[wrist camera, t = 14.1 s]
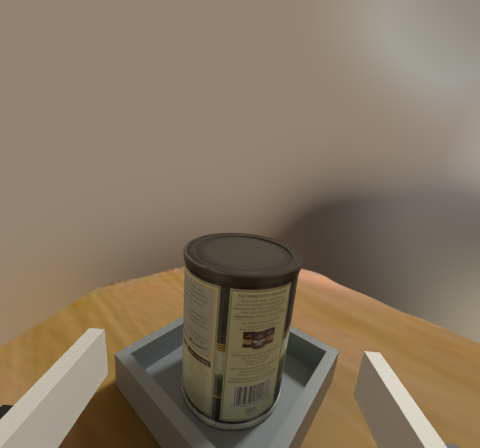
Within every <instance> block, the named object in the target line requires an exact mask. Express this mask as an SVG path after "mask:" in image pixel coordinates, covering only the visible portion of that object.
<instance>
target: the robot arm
mask: <svg viewBox="0 0 480 448" xmlns="http://www.w3.org/2000/svg"><path fill="white" fill-rule="evenodd" d="M107 374H108V366H107V354H106V342H105V330H104V329H95V328H89V329H88V330H87V331H86V332H85V333H84V334H83V335H82V336H81V337H80V338H79V339H78V340H77V341H76V342H75V343H74V345H73V346H72V347H71V348H70V349H69V350H68V351H67V352H66V353H65V354H64V355H63V356H62V357H61V358H60V359H59V360H58V361H57V362H56V363H55V364H54V365H53V366H52V367H51V368H50V369H49V370H48V371H47V372H46V373H45V374H44V375H43V376H42V377H41V378H40V379H39V380H38V381H37V382H36V383H35V384H34V385H33V387H32V388H31V389H30V390H29V391H28V392H27V393H26V394H25V395H24V396H23V397H22V398H21V399H20V400H19V401H18V402H17V403H16V404H15V405H14V406H11V405H2V406H1V407H0V448H58V447H59V446H60V444H61V443H62V441H63V440H64V438H65V437H66V435H67V434H68V432H69V431H70V429H71V428H72V426H73V425H74V423H75V422H76V420H77V419H78V417H79V416H80V414H81V413H82V411H83V410H84V408H85V407H86V405H87V404H88V402H89V401H90V400H91V398H92V397H93V395H94V394H95V392H96V391H97V389H98V388H99V386H100V385H101V383H102V382H103V380H104V379H105V377H106V376H107ZM354 396H355V399H356V401H357V403H358V405H359V407H360V409H361V411H362V414H363V416H364V418H365V420H366V422H367V424H368V427H369V429H370V431H371V433H372V435H373V437H374V439H375V442H376V444H377V446H378V448H459V447H458V446H457V445H456V444H445V443H443V441H442V440H441V438H440V437H439V436H438V434H437V433H436V431H435V430H434V428H433V427H432V426H431V424H430V423H429V421H428V420H427V419H426V417H425V416H424V414H423V413H422V412H421V410H420V409H419V407H418V406H417V404H416V403H415V402H414V400H413V399H412V397H411V396H410V395H409V393H408V392H407V390H406V389H405V388H404V386H403V385H402V383H401V382H400V380H399V379H398V378H397V376H396V375H395V373H394V372H393V371H392V369H391V368H390V366H389V365H388V364H387V362H386V361H385V359H384V358H383V356H382V355H381V354H380V353H378V352H366V351H364V355H363V359H362V363H361V367H360V371H359V375H358V379H357V383H356V388H355V392H354Z"/></svg>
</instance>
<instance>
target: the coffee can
mask: <svg viewBox="0 0 480 448" xmlns="http://www.w3.org/2000/svg"><path fill="white" fill-rule="evenodd" d="M184 261H185V280H184V320H183V358H182V376H181V389H182V394H183V397H184V400H185V402H186V404H187V405H188V407H189V409H190V410H191V412H192V413H194V414H195V415H196V416H197V417H198V418H199V419H200V420H202V421H203V422H205V423H206V424H208V425H210V426H213V427H215V428H219V429H223V430H230V431H232V430H241V429H246V428H250V427H252V426H255V425H257V424H259V423H260V422H262V421H263V420H265V419H266V418H267V417H268V416H269V415H270V414H271V413H272V412H273V410H274V409H275V407H276V405H277V403H278V401H279V397H280V393H281V381H282V375H283V369H284V363H285V356H286V350H287V343H288V337H289V331H290V324H291V318H292V312H293V305H294V299H295V293H296V286H297V280H298V274H299V272H300V270H301V266H302V257H301V255H300V254H299V253H298V252H297V251H296V250H295V249H294V248H292V247H291V246H289V245H287V244H285V243H283V242H280V241H278V240H274V239H271V238H267V237H263V236H258V235H251V234H243V233H242V234H241V233H220V234H211V235H206V236H202V237H198V238H196V239H193V240H191V241H190V242H188V243H187V244H186V246H185V247H184Z"/></svg>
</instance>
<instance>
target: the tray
mask: <svg viewBox="0 0 480 448" xmlns="http://www.w3.org/2000/svg"><path fill="white" fill-rule="evenodd" d="M183 320H184V316H183V317H181V318H179V319H178V320H176V321H174V322H172V323H170V324H168V325H167V326H165V327H163V328H161V329H159V330H157V331H155V332H154V333H152V334H150V335H148V336H146V337H144V338H143V339H141V340H139V341H137V342H135V343H133V344H132V345H130V346H128V347H126V348H124V349H122V350H121V351H119V352H117V353H115V370H116V386H117V387H118V389H119V390H120V392H121V393H122V394H123V396H124V397H125V398H126V400H127V401H128V403H129V404H130V405H131V407H132V408H133V409H134V411H135V412H136V414H137V415H138V416H139V418H140V419H141V420H142V422H143V423H144V425H145V426H146V427H147V429H148V430H149V431H150V433H151V434H152V436H153V437H154V438H155V440H156V441H157V442H158V444H159V445H160V447H161V448H300V446H301V444H302V442H303V440H304V438H305V436H306V434H307V432H308V429H309V427H310V425H311V423H312V421H313V419H314V417H315V415H316V413H317V411H318V409H319V407H320V405H321V403H322V401H323V398H324V396H325V394H326V392H327V390H328V388H329V386H330V384H331V382H332V380H333V375H334V371H335V367H336V362H337V358H338V354H339V351H337V350H336V349H334V348H332V347H330V346H328V345H326V344H324V343H322V342H320V341H319V340H317V339H315V338H313V337H311V336H309V335H307V334H305V333H303V332H302V331H300V330H298V329H296V328H294V327H292V326H290V331H289V337H288V343H287V350H286V356H285V363H284V369H283V375H282V381H281V393H280V397H279V401H278V403H277V405H276V407H275V409H274V410H273V412H272V413H271V414H270V415H269V416H268V417H267V418H266V419H265V420H263V421H262V422H260V423H259V424H257V425H255V426H252V427H250V428H246V429H241V430H232V431H230V430H223V429H219V428H215V427H213V426H210V425H208V424H206V423H205V422H203V421H202V420H200V419H199V418H198V417H197V416H196V415H195V414H194V413H192V412H191V410H190V409H189V407H188V405H187V404H186V402H185V400H184V397H183V394H182V389H181V376H182V358H183Z"/></svg>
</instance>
